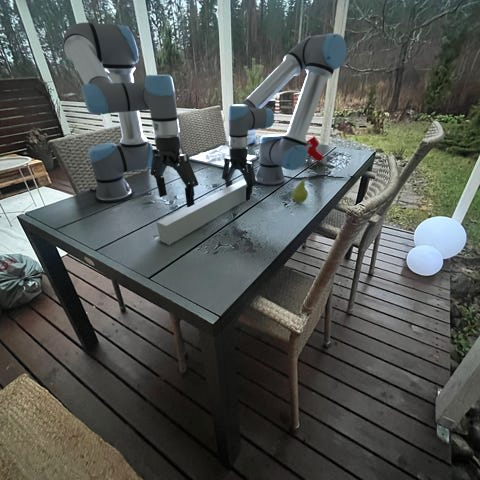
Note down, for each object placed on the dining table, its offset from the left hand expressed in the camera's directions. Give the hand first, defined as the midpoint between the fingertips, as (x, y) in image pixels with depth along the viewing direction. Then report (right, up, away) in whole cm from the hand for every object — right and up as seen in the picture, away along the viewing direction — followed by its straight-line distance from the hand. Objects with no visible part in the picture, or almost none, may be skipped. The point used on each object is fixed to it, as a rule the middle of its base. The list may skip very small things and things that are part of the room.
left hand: (176, 200), depth 92 cm
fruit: (+48, +4, +29) cm, 57 cm away
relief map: (+10, +40, +86) cm, 95 cm away
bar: (+11, -3, +19) cm, 22 cm away
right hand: (+21, +6, +30) cm, 37 cm away
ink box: (+29, +64, +123) cm, 142 cm away
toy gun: (+64, +37, +81) cm, 110 cm away
